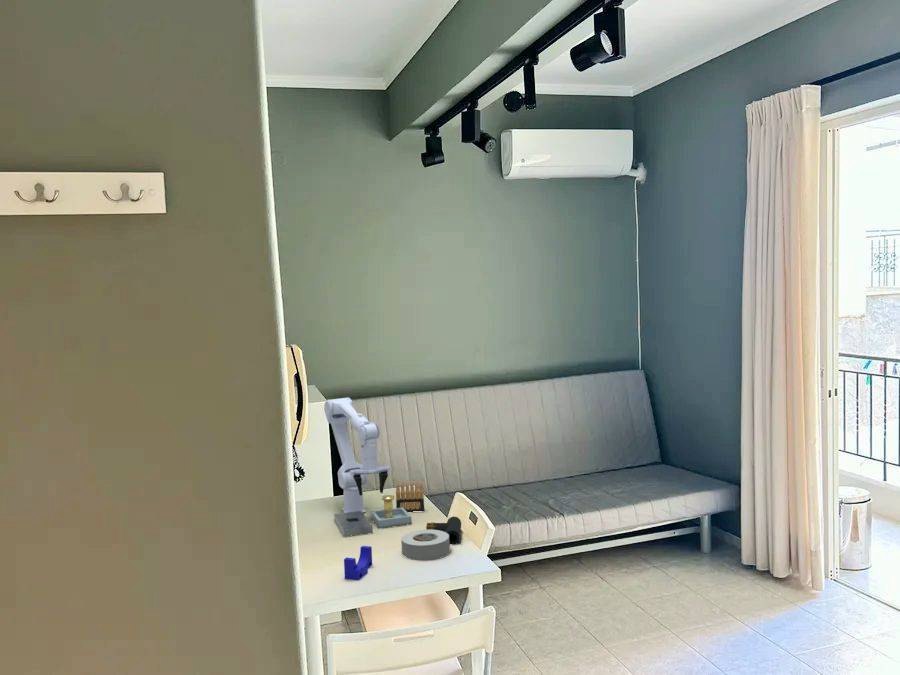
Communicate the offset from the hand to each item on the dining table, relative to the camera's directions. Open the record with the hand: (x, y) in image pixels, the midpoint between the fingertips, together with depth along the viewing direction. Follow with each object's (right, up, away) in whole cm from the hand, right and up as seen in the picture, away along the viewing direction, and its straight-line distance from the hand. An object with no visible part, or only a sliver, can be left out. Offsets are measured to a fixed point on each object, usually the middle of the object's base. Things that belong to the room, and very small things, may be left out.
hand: (371, 493), depth 278 cm
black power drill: (+27, -11, -21) cm, 36 cm away
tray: (+8, -10, -2) cm, 13 cm away
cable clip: (+2, -14, -50) cm, 52 cm away
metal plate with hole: (-6, -11, -7) cm, 14 cm away
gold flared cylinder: (+7, -9, -3) cm, 12 cm away
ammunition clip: (+14, -9, +10) cm, 19 cm away
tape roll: (+21, -12, -35) cm, 42 cm away
